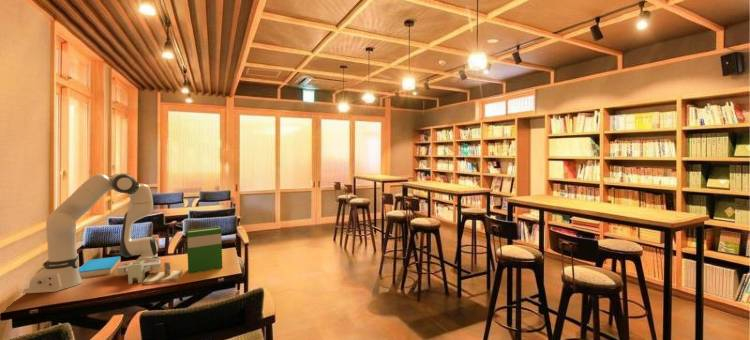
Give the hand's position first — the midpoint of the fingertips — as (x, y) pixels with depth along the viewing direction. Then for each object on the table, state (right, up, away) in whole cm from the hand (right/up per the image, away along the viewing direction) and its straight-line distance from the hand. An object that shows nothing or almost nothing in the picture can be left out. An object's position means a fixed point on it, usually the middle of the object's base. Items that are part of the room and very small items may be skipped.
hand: (135, 271), depth 182 cm
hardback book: (+27, -5, +20) cm, 34 cm away
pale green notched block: (0, -5, +1) cm, 6 cm away
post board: (+11, -5, +5) cm, 14 cm away
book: (-37, -5, +21) cm, 43 cm away
